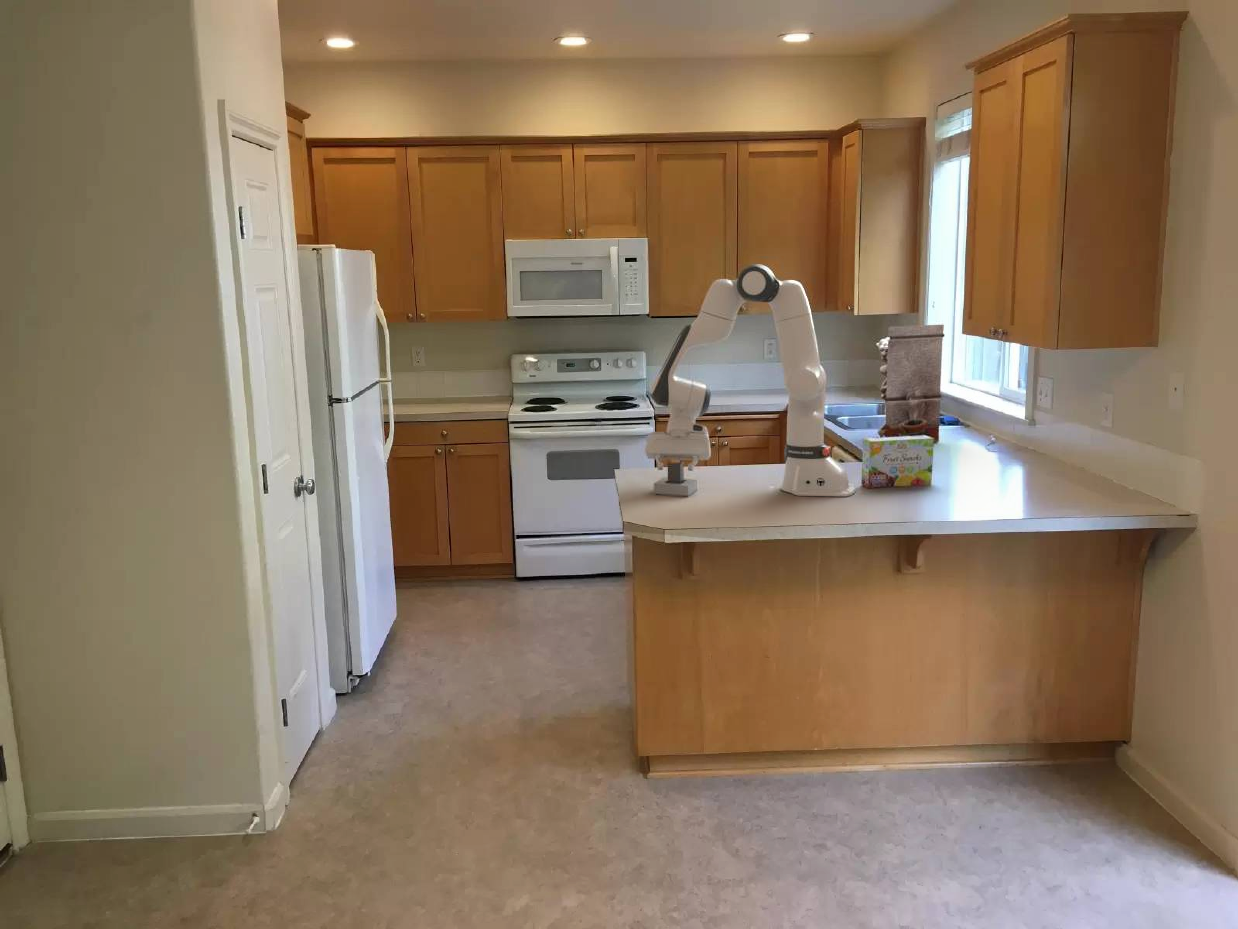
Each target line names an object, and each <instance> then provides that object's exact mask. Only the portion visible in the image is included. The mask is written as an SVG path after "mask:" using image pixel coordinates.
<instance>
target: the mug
mask: <svg viewBox="0 0 1238 929" xmlns="http://www.w3.org/2000/svg"><path fill="white" fill-rule="evenodd" d="M926 423H927V421H926V420H924V419H910V420H906V421H904V422H903V423H901V424H900V427H899V426H891V425H886V426H885V429H886V430H889V431H890V434H891V437H896V436H895V433H894V430H898V431H900V433H901V434H899V437H903V436H923V435H924V434H925V426H926Z"/></svg>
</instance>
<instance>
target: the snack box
mask: <svg viewBox="0 0 1238 929" xmlns="http://www.w3.org/2000/svg"><path fill="white" fill-rule="evenodd" d="M863 438H864V439H863ZM863 438H862V440H863V441H862V461H861V462H862V463H861V481H860V484H861V486H863V487H865V486H866V487H865V488H866V489H875V488H874V487H881V488H892V487H891V486H899V487H914V485H915V486H928V485H929V484H930V485H932V479H933V478H932V477H933V476H932V475H933V463H934V462H933V461H934V447H935V446H934V445H935V442H934V438H931V437H929V436H925V435H923V436H903V437H883V438H872V437H863ZM930 485H929V486H930ZM889 486H890V487H889Z"/></svg>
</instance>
